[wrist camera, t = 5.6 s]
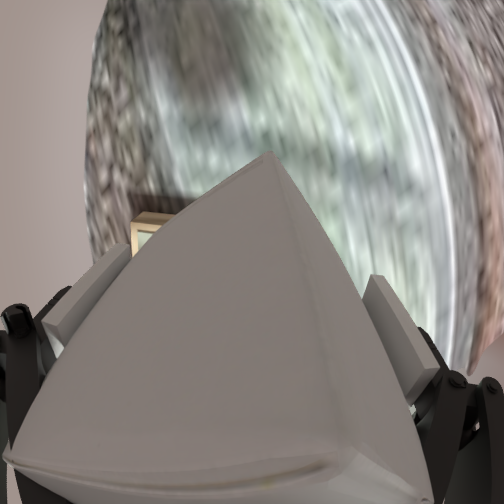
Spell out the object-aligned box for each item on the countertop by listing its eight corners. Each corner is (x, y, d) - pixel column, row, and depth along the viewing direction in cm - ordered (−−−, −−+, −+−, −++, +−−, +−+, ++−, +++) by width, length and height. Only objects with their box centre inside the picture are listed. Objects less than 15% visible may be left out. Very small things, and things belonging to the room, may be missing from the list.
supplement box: (147, 234, 17) (-12, 452, 3) (271, 146, 14) (392, 451, 1) (234, 334, 20) (207, 551, 6) (349, 272, 17) (444, 512, 4)
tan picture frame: (143, 211, 34) (129, 222, 30) (228, 221, 34) (223, 234, 31) (146, 284, 39) (135, 301, 35) (221, 296, 39) (216, 315, 35)
